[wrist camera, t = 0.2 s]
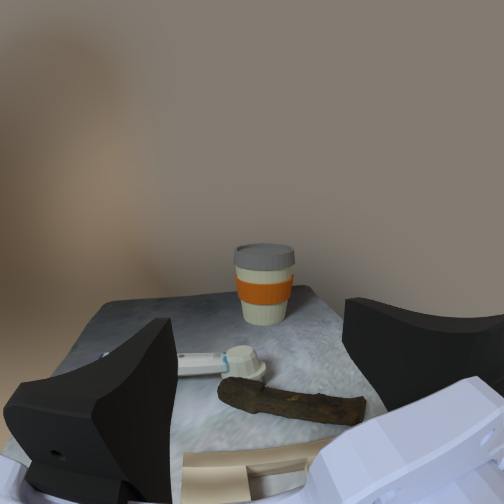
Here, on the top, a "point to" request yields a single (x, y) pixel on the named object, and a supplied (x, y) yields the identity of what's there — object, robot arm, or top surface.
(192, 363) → the white elongated piece
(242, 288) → the reusable coffee cup
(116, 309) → the top surface
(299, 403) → the dark brown wood piece
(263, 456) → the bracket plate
